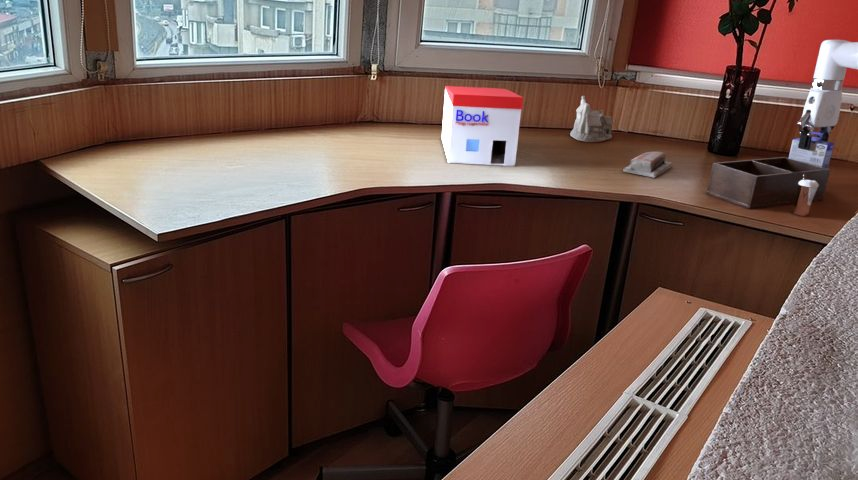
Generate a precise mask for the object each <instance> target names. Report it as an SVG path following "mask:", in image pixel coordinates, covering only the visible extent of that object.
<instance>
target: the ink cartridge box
mask: <svg viewBox="0 0 858 480" xmlns="http://www.w3.org/2000/svg"><path fill="white" fill-rule="evenodd" d="M823 134H824V133H820V131H819V132H818V131H813V132H812V134H811V136H812V139H811V144H810V148H809V150H804V149H799V148H798V145H799V141H800V137H796V138H793V139H792V140H791V145H790V150H789V154H788V158H791V159H794V160H798V161H802V162H805V163H809V164H813V165H816V166H820V167H824V168H827V169H829V165H830V161H831V158H832V154H833V151H834V150H833V149H834V145H835V142H833V141H828V142H826V141H821V140H822V137H823ZM813 135H816V136H813ZM817 135H819V136H820V137H819V138H818V137H817Z"/></svg>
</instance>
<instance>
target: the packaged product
mask: <svg viewBox="0 0 858 480" xmlns="http://www.w3.org/2000/svg"><path fill="white" fill-rule="evenodd" d="M666 157H667V154H666V153H664V152H663V151H646V152H644V153H641V154H639V155H638V156H636V157H633V158H632V159H630V164H629V165H627V166H626V167H624V168H623V169H622V171H623V172H624V173H627V174H632V175H633V174H634V175H637V176H644V177H648V178H656V177H658V176H659V175H662V174H664V173H665V172H666V171H667V170H669V169H670V168H671V167H672V166H673V165H672V164H673V162H670V161H666V160H665V159H666Z"/></svg>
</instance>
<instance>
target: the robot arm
mask: <svg viewBox="0 0 858 480" xmlns="http://www.w3.org/2000/svg"><path fill="white" fill-rule="evenodd" d="M847 68H849V69H852V70H858V41H855V42H854V41H850V40H845V39H825V40H823V41H822V42H821V44H820V47H819V50H818V54H817V59H816V65H815V68H814V73H813V78H812V82H811V85H810V89H809V93H808V95H807V98H806V101H805V104H804V106H803V111H802V114H801V118H800V119H799V120H798V121H797V123H796V125H797V126H798V130H799V135H800V137H799V138H800V141H799V145H798V148H799V149H804V150H809V148H810V144H811V139H812V137H813V135H811V134H812V132H814V130H815V128H818V129H819V133H824V134H823V137H822V140H821V141H826V142H829V141H828V140H829V137H830V135H831V134H832V131H833V129H834V128H835V126H836V125H837V124H838V122H839V117H840V112H841V107H842V101H843V100H842V99H843V91H842V89H843V84H844V81H845V76H846V73H847ZM816 137H818V138H819V137H820V136H819V135H817V134H816Z"/></svg>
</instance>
